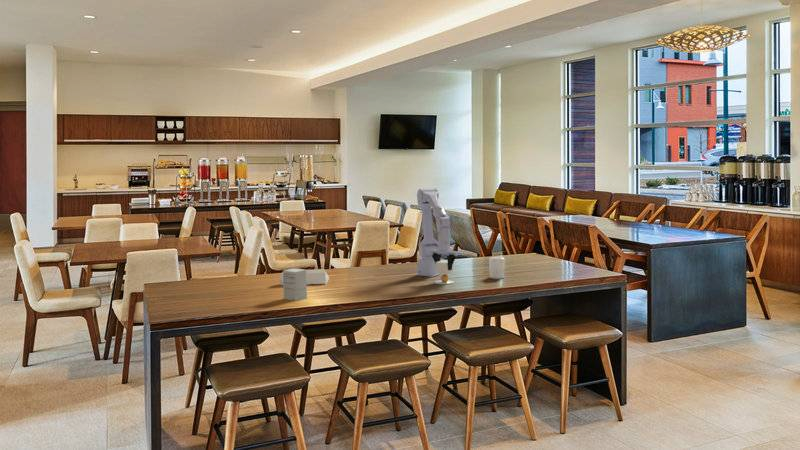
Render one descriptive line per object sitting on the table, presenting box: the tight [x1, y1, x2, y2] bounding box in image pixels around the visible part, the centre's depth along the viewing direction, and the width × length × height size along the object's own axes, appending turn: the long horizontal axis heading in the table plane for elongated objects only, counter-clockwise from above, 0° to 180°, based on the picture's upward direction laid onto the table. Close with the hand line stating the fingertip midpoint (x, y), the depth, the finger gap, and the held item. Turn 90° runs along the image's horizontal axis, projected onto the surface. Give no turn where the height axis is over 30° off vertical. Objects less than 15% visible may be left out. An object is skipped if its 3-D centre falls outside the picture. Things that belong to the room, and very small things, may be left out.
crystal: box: [278, 268, 330, 286], centre depth 347 cm, size 7×7×24 cm
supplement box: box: [282, 267, 308, 302], centre depth 312 cm, size 7×7×13 cm
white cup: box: [488, 256, 506, 280], centre depth 359 cm, size 8×8×10 cm
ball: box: [440, 274, 450, 282], centre depth 348 cm, size 4×4×4 cm
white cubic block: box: [436, 259, 453, 276], centre depth 347 cm, size 6×6×6 cm
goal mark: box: [433, 279, 455, 285], centre depth 348 cm, size 10×10×1 cm
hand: (444, 269), depth 347 cm, fingers closed on white cubic block, 6 cm apart
